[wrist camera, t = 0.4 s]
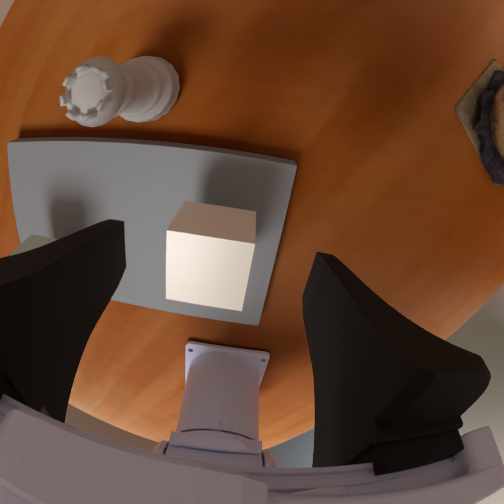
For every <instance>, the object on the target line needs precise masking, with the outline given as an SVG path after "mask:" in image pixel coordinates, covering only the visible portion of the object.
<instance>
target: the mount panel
mask: <svg viewBox="0 0 504 504" xmlns="http://www.w3.org/2000/svg"><path fill="white" fill-rule="evenodd" d="M7 147H8V163H9V175H10V184H11V192H12V200H13V207H14V213H15V219H16V224H17V229H18V234H19V239H20V244H22V243H23V242H24V241H25V240H26V239H27V238H29V237H30V236H31V235H32V234H34V235H39V236H44V237H49V238H54V239H61V238H63V237H65V236H68V235H70V234H73V233H75V232H77V231H79V230H82V229H84V228H86V227H89V226H91V225H94V224H96V223H99V222H101V221H104V220H108V219H114V220H121V221H124V227H125V252H126V269H125V272H124V274H123V277H122V279H121V281H120V283H119V286H118V288H117V290H116V291H115V293H114V295H113V296H112V298H111V300H115V301H119V302H124V303H128V304H133V305H138V306H143V307H148V308H153V309H158V310H163V311H168V312H174V313H179V314H185V315H190V316H196V317H202V318H208V319H215V320H221V321H227V322H234V323H241V324H248V325H256V326H258V325H259V321H260V318H261V314H262V310H263V306H264V302H265V298H266V294H267V290H268V286H269V282H270V278H271V274H272V270H273V266H274V262H275V258H276V254H277V250H278V246H279V241H280V237H281V233H282V229H283V225H284V220H285V216H286V212H287V208H288V203H289V199H290V195H291V190H292V186H293V182H294V177H295V173H296V169H297V165H296V163H295V161H294V160H290V159H284V158H279V157H274V156H268V155H263V154H257V153H251V152H245V151H238V150H232V149H225V148H218V147H210V146H202V145H194V144H185V143H175V142H165V141H153V140H140V139H124V138H102V137H34V138H18V139H15V140H13V141H10V142H7ZM184 201H191V202H198V203H205V204H211V205H218V206H224V207H231V208H237V209H243V210H250V211H256V236H255V248H254V253H253V258H252V263H251V268H250V273H249V278H248V283H247V288H246V293H245V298H244V303H243V308H242V311H237V310H230V309H224V308H217V307H211V306H205V305H199V304H193V303H187V302H181V301H176V300H170V299H166V235H167V229H168V227H169V226H170V224H171V222H172V221H173V219H174V217H175V216H176V214H177V213H178V211H179V209H180V208H181V206H182V205H183V203H184Z"/></svg>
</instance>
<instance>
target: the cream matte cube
mask: <svg viewBox="0 0 504 504" xmlns="http://www.w3.org/2000/svg"><path fill="white" fill-rule="evenodd" d="M255 236H256V211H250V210H243V209H237V208H231V207H224V206H218V205H211V204H205V203H198V202H191V201H184V203H183V205H182V206H181V208H180V209H179V211H178V213H177V214H176V216H175V217H174V219H173V221H172V222H171V224H170V226H169V227H168V229H167V235H166V299H170V300H176V301H181V302H187V303H193V304H199V305H205V306H211V307H217V308H224V309H230V310H237V311H242V308H243V303H244V298H245V293H246V288H247V283H248V278H249V273H250V268H251V263H252V258H253V253H254V248H255Z"/></svg>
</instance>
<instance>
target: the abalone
mask: <svg viewBox="0 0 504 504" xmlns="http://www.w3.org/2000/svg"><path fill="white" fill-rule="evenodd" d="M455 113H456V115H457V117H458V118H459V120H460V122H461V124H462V126H463V128H464V129H465V131H466V132H467V134H468V136H469V138H470V140H471V141H472V143H473V145H474V147H475V149H476V151H477V153H478V154H479V156H480V158H481V160H482V163H483V164H484V166H485V168H486V170H487V172H488V173H489V174H490V176H491V178H492V180H493V182H494V183H496V184H497V185H498V187H501V186H502V185H503V186H504V70H503V68H502V66H501V64H500V63H499V62H498V61H496V60H492V61H490V63H489V65H488V66H487V67H486V69H485V70H484V71H483V72H482V74H481V75H480V76H479V77H478V78H477V80H476V81H475V82H474V83H473V84H472V86H471V87H470V88H469V89H468V90H467V92H466V93H465V94H464V95H463V96H462V98H461V99H460V100H459V101H458V102H457V104H456V105H455Z"/></svg>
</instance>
